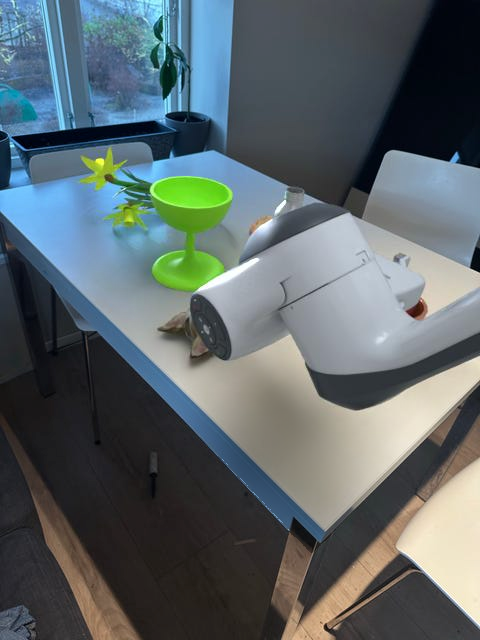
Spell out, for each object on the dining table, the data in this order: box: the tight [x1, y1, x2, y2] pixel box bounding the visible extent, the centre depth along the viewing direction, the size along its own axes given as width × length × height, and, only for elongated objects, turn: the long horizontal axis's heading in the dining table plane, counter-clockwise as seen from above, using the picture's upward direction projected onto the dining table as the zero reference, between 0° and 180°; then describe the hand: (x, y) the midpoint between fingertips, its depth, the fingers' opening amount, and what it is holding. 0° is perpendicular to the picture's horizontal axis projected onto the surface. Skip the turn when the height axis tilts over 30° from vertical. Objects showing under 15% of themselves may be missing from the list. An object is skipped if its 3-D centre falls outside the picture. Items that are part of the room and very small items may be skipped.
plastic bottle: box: [274, 186, 305, 218], centre depth 93 cm, size 6×7×20 cm
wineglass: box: [149, 175, 234, 292], centre depth 92 cm, size 16×16×18 cm
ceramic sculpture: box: [156, 306, 211, 360], centre depth 78 cm, size 11×9×15 cm
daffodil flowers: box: [77, 146, 157, 230], centre depth 110 cm, size 17×15×35 cm
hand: (372, 245), depth 60 cm, fingers open, 8 cm apart
